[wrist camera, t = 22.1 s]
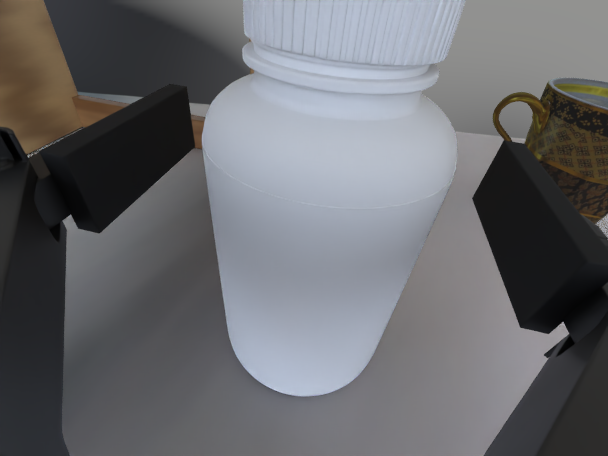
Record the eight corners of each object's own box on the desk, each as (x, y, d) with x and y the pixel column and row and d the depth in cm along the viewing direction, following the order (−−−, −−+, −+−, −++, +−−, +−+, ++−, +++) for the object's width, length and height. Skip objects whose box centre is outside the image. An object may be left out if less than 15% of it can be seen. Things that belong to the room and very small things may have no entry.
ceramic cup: (577, 193, 31) (660, 89, 25) (636, 263, 24) (779, 141, 17) (445, 169, 32) (492, 65, 26) (462, 229, 25) (533, 103, 18)
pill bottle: (304, 251, 21) (342, -31, 12) (402, 333, 17) (588, 0, 7) (198, 314, 17) (115, -57, 7) (296, 445, 13) (411, -17, 3)
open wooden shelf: (266, 233, 22) (274, -320, 9) (-23, 172, 25) (-371, -339, 11) (299, 162, 31) (330, -178, 17) (81, 122, 33) (-46, -206, 19)
